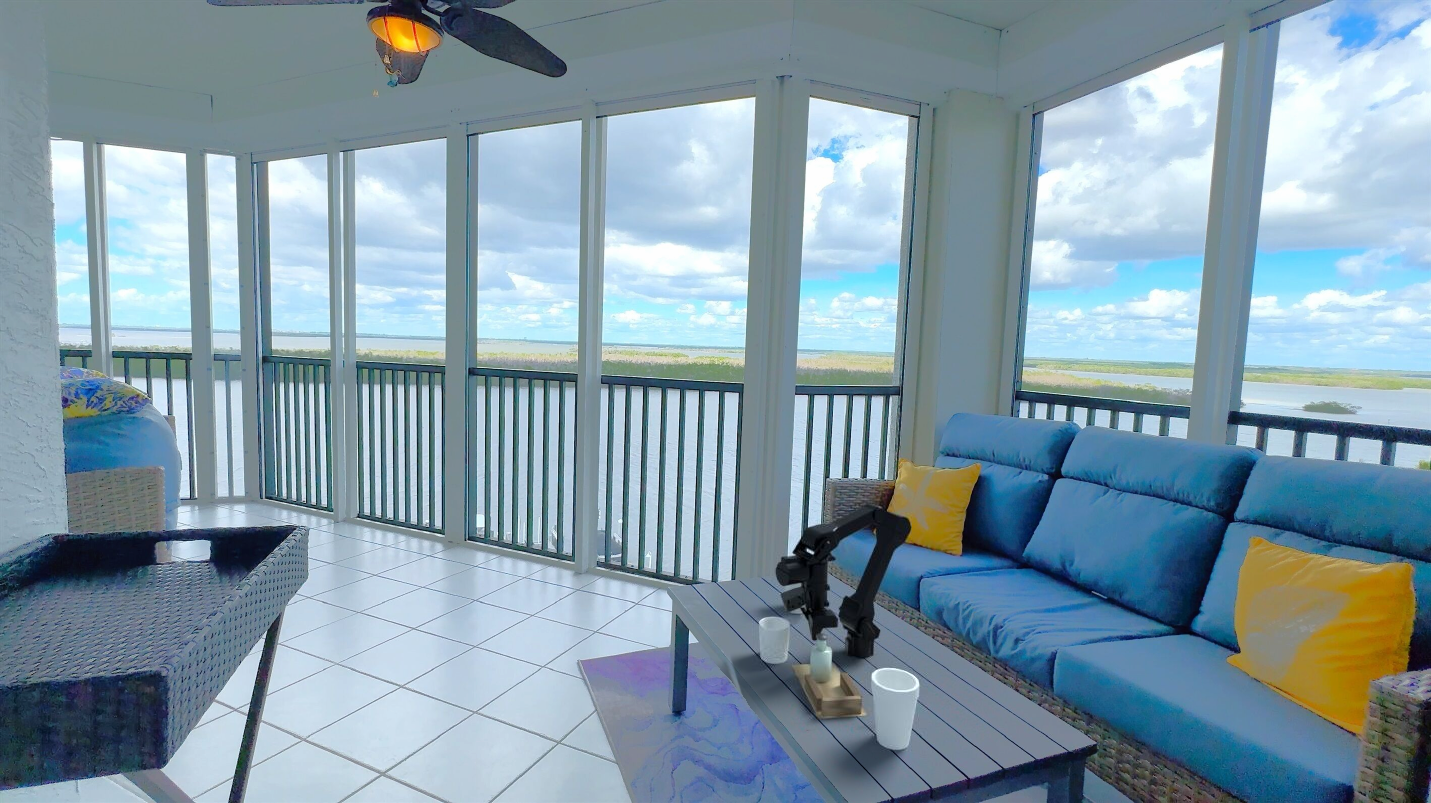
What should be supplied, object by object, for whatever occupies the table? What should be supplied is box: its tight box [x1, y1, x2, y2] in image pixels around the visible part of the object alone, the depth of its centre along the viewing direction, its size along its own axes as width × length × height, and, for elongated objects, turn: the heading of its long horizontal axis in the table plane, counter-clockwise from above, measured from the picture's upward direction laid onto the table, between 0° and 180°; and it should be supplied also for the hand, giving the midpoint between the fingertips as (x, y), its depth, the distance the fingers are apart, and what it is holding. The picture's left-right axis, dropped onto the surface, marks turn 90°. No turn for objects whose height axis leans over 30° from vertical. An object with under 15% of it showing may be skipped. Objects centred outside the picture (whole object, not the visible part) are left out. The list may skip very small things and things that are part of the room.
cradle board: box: [791, 662, 868, 720], centre depth 147 cm, size 11×23×4 cm, turn 8°
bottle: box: [809, 632, 833, 683], centre depth 152 cm, size 5×5×10 cm
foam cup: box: [870, 667, 920, 751], centre depth 129 cm, size 10×9×13 cm
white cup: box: [758, 616, 791, 665], centre depth 161 cm, size 8×8×10 cm
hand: (814, 639), depth 157 cm, fingers closed
